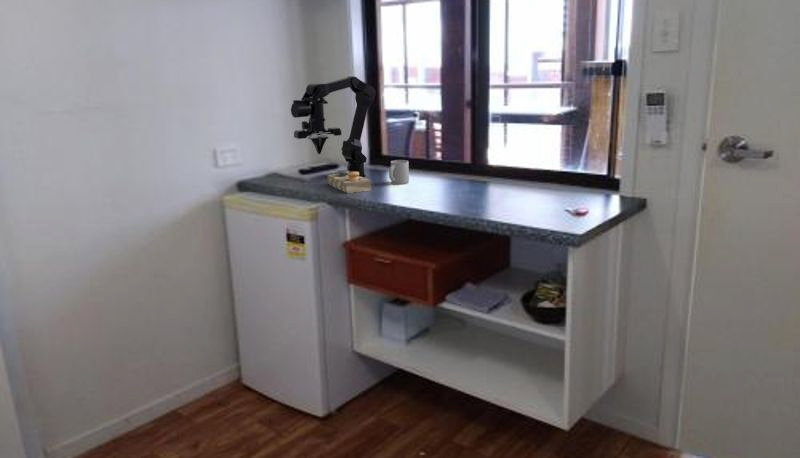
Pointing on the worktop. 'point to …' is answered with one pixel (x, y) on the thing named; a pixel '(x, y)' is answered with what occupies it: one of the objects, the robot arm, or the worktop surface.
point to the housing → (349, 183)
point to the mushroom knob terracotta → (353, 176)
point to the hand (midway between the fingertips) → (319, 154)
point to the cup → (399, 172)
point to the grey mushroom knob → (343, 173)
